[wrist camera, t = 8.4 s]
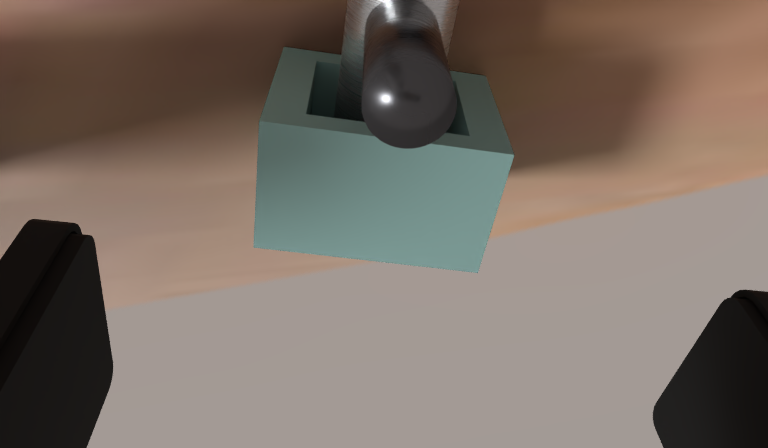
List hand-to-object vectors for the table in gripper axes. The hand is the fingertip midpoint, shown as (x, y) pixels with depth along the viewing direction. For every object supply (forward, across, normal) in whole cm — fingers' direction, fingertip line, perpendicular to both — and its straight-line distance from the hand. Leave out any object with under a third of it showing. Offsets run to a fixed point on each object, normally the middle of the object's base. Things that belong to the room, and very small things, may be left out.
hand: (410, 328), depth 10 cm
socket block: (+20, -1, +7) cm, 21 cm away
